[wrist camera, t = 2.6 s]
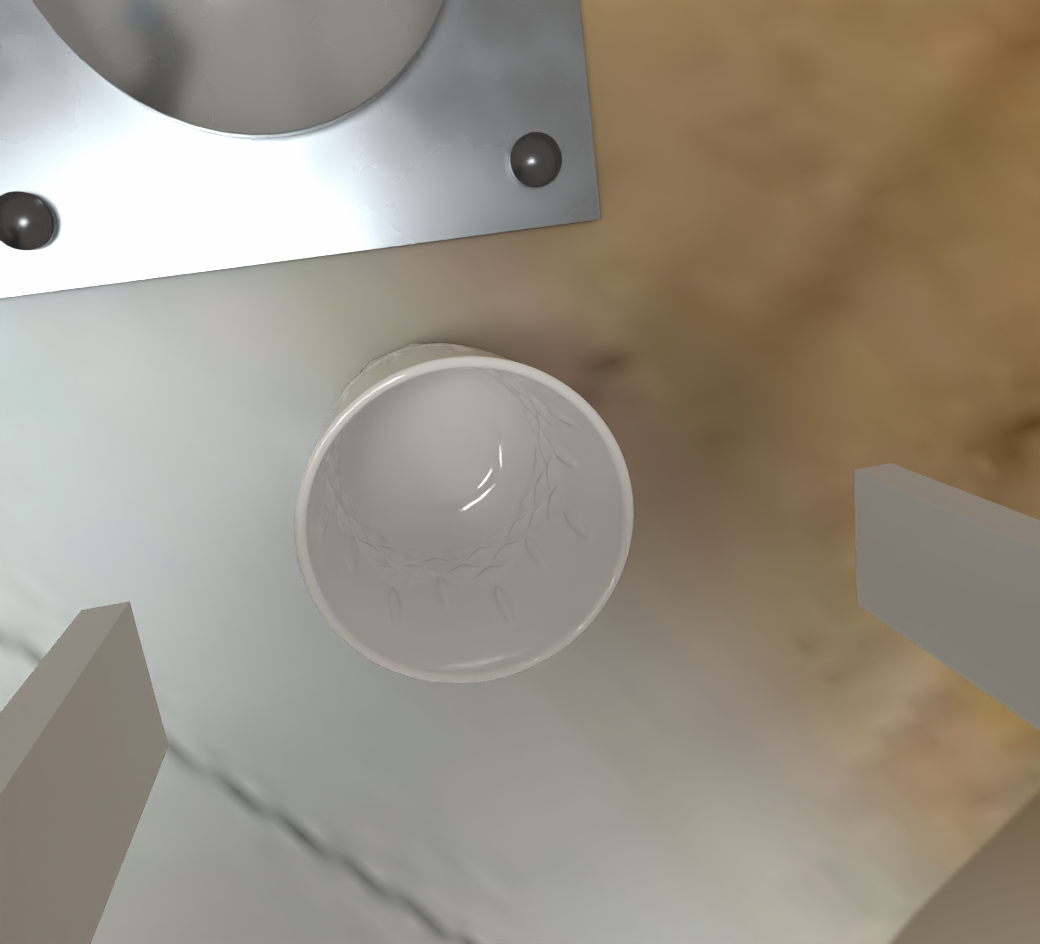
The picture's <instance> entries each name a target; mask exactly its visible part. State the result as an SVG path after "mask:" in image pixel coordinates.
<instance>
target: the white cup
mask: <svg viewBox="0 0 1040 944" xmlns="http://www.w3.org/2000/svg"><path fill="white" fill-rule="evenodd" d="M633 520H634V506H633V494H632V487H631V482H630V477H629V473H628V469H627V466H626V463H625V460H624V457H623V455H622V452H621V450H620V448H619V446H618V444H617V442H616V440H615V438H614V436H613V435H612V433H611V431H610V430H609V428H608V427H607V425H606V424H605V422H604V421H603V420H602V418H601V417H600V416H599V414H598V413H597V412H596V411H595V410H594V409H593V408H592V407H591V405H590V404H589V403H588V402H587V401H585V400H584V399H583V398H582V397H581V396H580V395H579V394H578V393H576V392H575V391H574V390H573V389H571V388H570V387H568V386H567V385H566V384H564V383H563V382H561V381H559V380H558V379H556V378H554V377H553V376H551V375H549V374H547V373H545V372H543V371H540V370H538V369H536V368H533V367H531V366H528V365H525V364H522V363H519V362H516V361H513V360H510V359H507V358H505V357H502V356H499V355H497V354H494V353H491V352H488V351H485V350H481V349H476V348H472V347H467V346H462V345H456V344H447V343H434V344H419V343H412V344H410V345H407V346H405V347H403V348H400V349H398V350H396V351H393V352H391V353H388V354H386V355H384V356H381V357H379V358H377V359H374V360H372V361H370V362H369V363H368V364H367V366H366V367H365V368H364V369H363V370H362V371H361V372H360V374H359V375H358V376H357V377H355V378H354V379H353V380H352V381H351V382H350V383H349V384H348V386H347V387H346V388H345V389H344V391H343V392H342V394H341V395H340V396H339V398H338V400H337V401H336V403H335V404H334V406H333V408H332V409H331V411H330V413H329V415H328V417H327V418H326V420H325V423H324V425H323V427H322V429H321V432H320V434H319V437H318V439H317V442H316V444H315V447H314V449H313V452H312V454H311V456H310V458H309V461H308V463H307V465H306V468H305V470H304V473H303V476H302V479H301V483H300V486H299V490H298V495H297V500H296V507H295V519H294V535H295V546H296V553H297V558H298V563H299V567H300V571H301V574H302V577H303V580H304V582H305V585H306V587H307V590H308V592H309V594H310V596H311V598H312V600H313V602H314V604H315V605H316V607H317V609H318V610H319V612H320V613H321V615H322V616H323V618H324V619H325V620H326V622H327V623H328V624H329V625H330V626H331V628H332V629H333V630H334V631H335V632H336V633H337V634H338V635H339V636H340V637H341V638H342V639H343V640H344V641H345V642H346V643H347V644H348V645H350V646H351V647H352V648H353V649H355V650H356V651H357V652H359V653H360V654H361V655H363V656H364V657H366V658H367V659H369V660H371V661H373V662H374V663H376V664H378V665H380V666H382V667H384V668H386V669H388V670H391V671H393V672H396V673H398V674H401V675H404V676H407V677H411V678H415V679H419V680H424V681H429V682H437V683H450V684H464V683H477V682H484V681H490V680H495V679H499V678H503V677H506V676H510V675H513V674H516V673H518V672H521V671H524V670H526V669H528V668H531V667H533V666H535V665H537V664H539V663H541V662H543V661H544V660H546V659H548V658H550V657H551V656H553V655H554V654H556V653H557V652H559V651H560V650H562V649H563V648H564V647H566V646H567V645H568V644H570V643H571V642H572V641H573V640H574V639H575V638H577V637H578V636H579V635H580V634H581V633H582V632H583V631H584V630H585V629H586V628H587V627H588V626H589V625H590V624H591V622H592V621H593V620H594V619H595V618H596V616H597V615H598V614H599V613H600V611H601V610H602V609H603V607H604V606H605V604H606V603H607V601H608V600H609V598H610V596H611V594H612V593H613V591H614V589H615V587H616V585H617V583H618V581H619V579H620V576H621V574H622V571H623V569H624V566H625V563H626V560H627V557H628V553H629V549H630V544H631V539H632V532H633Z"/></svg>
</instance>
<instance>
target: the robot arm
mask: <svg viewBox="0 0 1040 944" xmlns="http://www.w3.org/2000/svg"><path fill="white" fill-rule="evenodd" d="M854 490H855V528H856V566H857V604H858V605H860V606H861V607H863V608H864V609H865V610H867V611H868V612H870V613H871V614H873V615H874V616H875V617H877V618H878V619H880V620H881V621H883V622H884V623H886V624H887V625H888V626H890V627H891V628H893V629H894V630H896V631H897V632H898V633H900V634H901V635H903V636H904V637H906V638H907V639H909V640H910V641H911V642H913V643H914V644H916V645H917V646H919V647H920V648H922V649H923V650H924V651H926V652H927V653H929V654H930V655H932V656H933V657H934V658H936V659H937V660H939V661H940V662H942V663H943V664H945V665H946V666H947V667H949V668H950V669H952V670H953V671H955V672H956V673H958V674H959V675H960V676H962V677H963V678H965V679H966V680H968V681H969V682H970V683H972V684H973V685H975V686H976V687H978V688H979V689H981V690H982V691H983V692H985V693H986V694H988V695H989V696H991V697H992V698H993V699H995V700H996V701H998V702H999V703H1001V704H1002V705H1004V706H1005V707H1006V708H1008V709H1009V710H1011V711H1012V712H1014V713H1015V714H1017V715H1018V716H1019V717H1021V718H1022V719H1024V720H1025V721H1027V722H1028V723H1029V724H1031V725H1032V726H1034V727H1035V728H1037V729H1038V730H1040V520H1038V519H1035V518H1032V517H1030V516H1027V515H1025V514H1022V513H1019V512H1017V511H1014V510H1012V509H1009V508H1006V507H1004V506H1001V505H999V504H996V503H993V502H991V501H988V500H986V499H983V498H980V497H978V496H975V495H973V494H970V493H967V492H965V491H962V490H960V489H957V488H954V487H952V486H949V485H947V484H944V483H942V482H939V481H936V480H934V479H931V478H929V477H926V476H923V475H921V474H918V473H916V472H913V471H910V470H908V469H905V468H903V467H900V466H897V465H895V464H892V463H889V464H883V465H878V466H872V467H867V468H861V469H856V470H854ZM167 748H168V743H167V739H166V735H165V732H164V728H163V724H162V721H161V717H160V713H159V709H158V706H157V702H156V698H155V695H154V691H153V687H152V683H151V680H150V676H149V672H148V668H147V665H146V661H145V657H144V654H143V650H142V646H141V642H140V639H139V635H138V631H137V627H136V624H135V620H134V616H133V613H132V609H131V605H130V602H125V603H119V604H114V605H108V606H103V607H97V608H92V609H86V610H81V612H80V613H79V614H78V615H77V617H76V618H75V619H74V620H73V622H72V623H71V624H70V626H69V627H68V628H67V629H66V631H65V632H64V633H63V634H62V636H61V637H60V638H59V639H58V641H57V642H56V643H55V644H54V646H53V647H52V648H51V650H50V651H49V652H48V653H47V655H46V656H45V657H44V658H43V660H42V661H41V662H40V663H39V665H38V666H37V667H36V669H35V670H34V671H33V672H32V674H31V675H30V676H29V677H28V679H27V680H26V681H25V682H24V684H23V685H22V686H21V687H20V689H19V690H18V691H17V693H16V694H15V695H14V696H13V698H12V699H11V700H10V701H9V703H8V704H7V705H6V706H5V708H4V709H3V710H2V711H1V713H0V944H91V941H92V939H93V936H94V933H95V931H96V928H97V926H98V923H99V921H100V918H101V916H102V913H103V911H104V908H105V905H106V903H107V900H108V898H109V895H110V893H111V890H112V888H113V885H114V883H115V880H116V877H117V875H118V872H119V870H120V867H121V865H122V862H123V860H124V857H125V855H126V852H127V850H128V847H129V844H130V842H131V839H132V837H133V834H134V832H135V829H136V827H137V824H138V822H139V819H140V816H141V814H142V811H143V809H144V806H145V804H146V801H147V799H148V796H149V794H150V791H151V788H152V786H153V783H154V781H155V778H156V776H157V773H158V771H159V768H160V766H161V763H162V761H163V758H164V755H165V753H166V750H167Z"/></svg>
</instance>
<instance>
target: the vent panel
mask: <svg viewBox="0 0 1040 944" xmlns="http://www.w3.org/2000/svg"><path fill="white" fill-rule="evenodd" d="M599 219H601V213H600V203H599V193H598V183H597V173H596V163H595V153H594V142H593V132H592V122H591V112H590V102H589V92H588V82H587V72H586V62H585V52H584V42H583V32H582V21H581V11H580V1H579V0H0V298H6V297H14V296H21V295H29V294H37V293H44V292H52V291H59V290H67V289H75V288H82V287H90V286H97V285H105V284H113V283H120V282H128V281H136V280H143V279H151V278H158V277H166V276H174V275H181V274H189V273H196V272H204V271H212V270H219V269H227V268H234V267H242V266H250V265H257V264H265V263H272V262H280V261H288V260H295V259H303V258H310V257H318V256H326V255H333V254H341V253H349V252H356V251H364V250H371V249H379V248H387V247H394V246H402V245H409V244H417V243H425V242H432V241H440V240H447V239H455V238H463V237H470V236H478V235H485V234H493V233H501V232H508V231H516V230H523V229H531V228H539V227H546V226H554V225H562V224H569V223H577V222H584V221H592V220H599Z"/></svg>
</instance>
